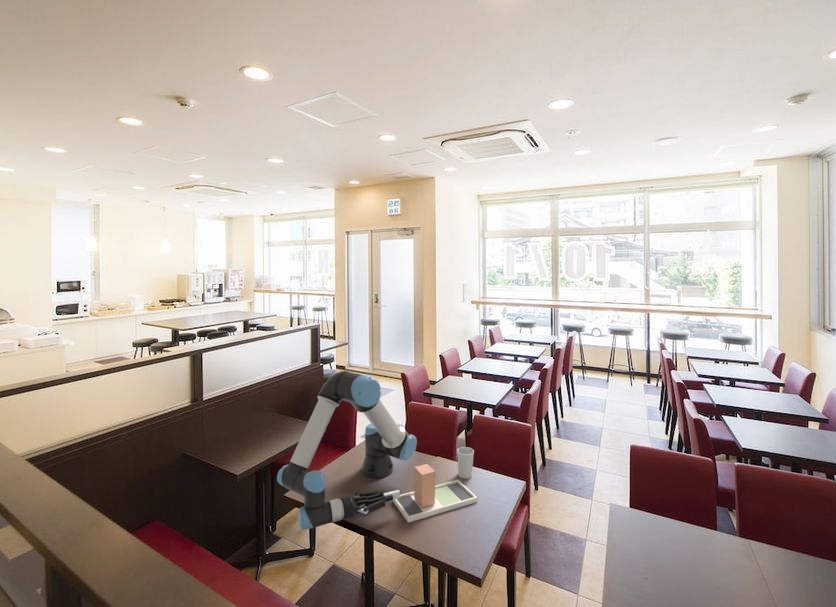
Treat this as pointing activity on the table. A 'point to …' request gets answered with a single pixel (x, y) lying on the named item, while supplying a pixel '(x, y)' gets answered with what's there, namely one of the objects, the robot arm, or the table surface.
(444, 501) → the sorting tray
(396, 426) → the robot arm
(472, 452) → the cup
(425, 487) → the block
